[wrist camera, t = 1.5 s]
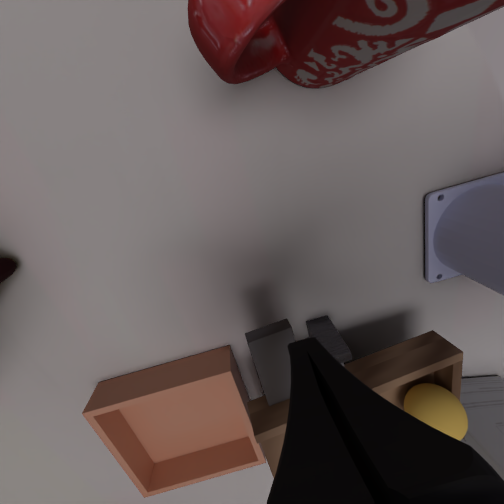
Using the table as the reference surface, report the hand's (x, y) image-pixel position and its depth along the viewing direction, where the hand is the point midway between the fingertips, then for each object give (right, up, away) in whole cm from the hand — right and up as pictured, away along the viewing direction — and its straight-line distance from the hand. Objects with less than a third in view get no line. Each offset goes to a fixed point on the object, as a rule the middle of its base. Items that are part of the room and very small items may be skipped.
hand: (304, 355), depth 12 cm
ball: (+11, -7, +7) cm, 15 cm away
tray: (-9, -11, +13) cm, 19 cm away
